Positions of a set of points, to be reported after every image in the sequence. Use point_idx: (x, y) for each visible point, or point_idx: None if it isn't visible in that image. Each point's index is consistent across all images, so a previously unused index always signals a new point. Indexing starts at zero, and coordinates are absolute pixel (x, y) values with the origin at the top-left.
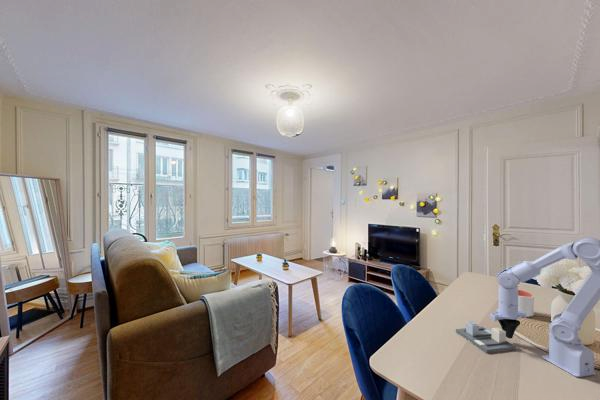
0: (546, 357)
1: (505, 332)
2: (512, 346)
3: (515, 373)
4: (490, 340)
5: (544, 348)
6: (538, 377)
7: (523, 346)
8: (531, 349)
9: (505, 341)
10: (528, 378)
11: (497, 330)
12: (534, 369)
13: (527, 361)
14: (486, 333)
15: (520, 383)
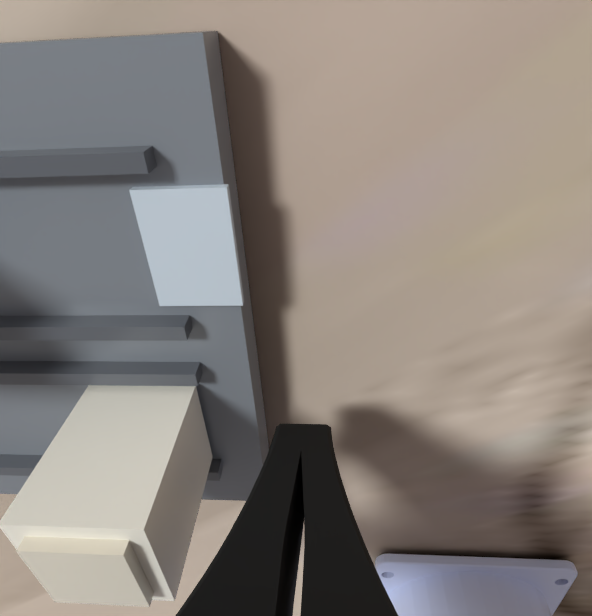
0: (397, 575)
1: (173, 587)
2: (226, 496)
3: (33, 583)
4: (51, 403)
5: (589, 496)
6: (147, 611)
7: (409, 452)
8: (432, 487)
9: (207, 463)
10: (81, 606)
11: (46, 586)
12: (187, 586)
13: (216, 550)
14: (109, 274)
15: (9, 612)
